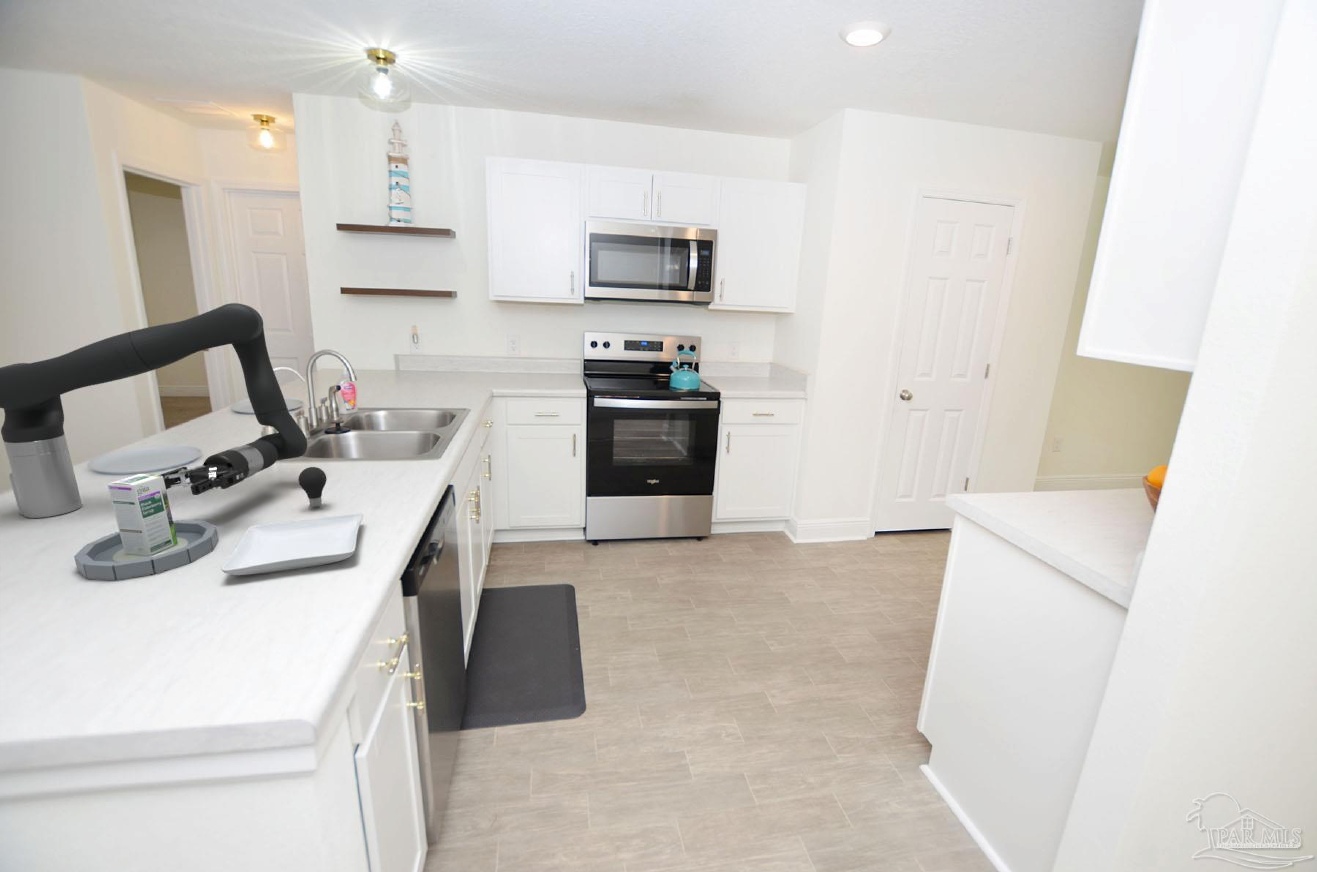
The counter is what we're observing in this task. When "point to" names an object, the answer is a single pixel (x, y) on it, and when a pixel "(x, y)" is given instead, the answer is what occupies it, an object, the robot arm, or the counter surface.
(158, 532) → the syrup box
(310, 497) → the light bulb
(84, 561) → the round tray
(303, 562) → the salad plate
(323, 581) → the counter surface
